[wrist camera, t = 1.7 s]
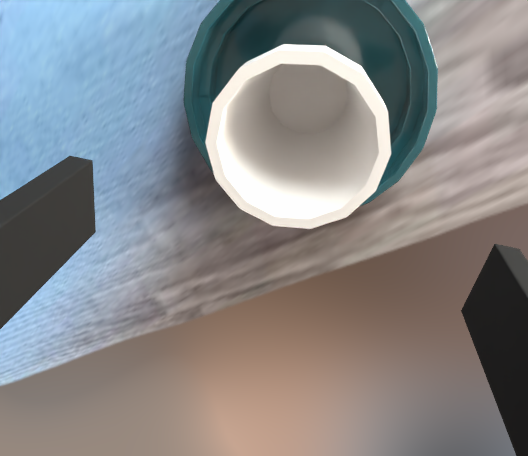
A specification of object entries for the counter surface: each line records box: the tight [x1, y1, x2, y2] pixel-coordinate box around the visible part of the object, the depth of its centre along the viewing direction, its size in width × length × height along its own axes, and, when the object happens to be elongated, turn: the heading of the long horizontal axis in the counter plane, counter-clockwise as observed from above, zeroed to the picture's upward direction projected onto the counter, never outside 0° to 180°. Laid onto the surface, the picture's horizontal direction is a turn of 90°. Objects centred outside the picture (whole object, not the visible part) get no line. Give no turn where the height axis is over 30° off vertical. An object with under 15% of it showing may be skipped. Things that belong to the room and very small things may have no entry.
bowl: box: [184, 0, 438, 206], centre depth 32 cm, size 17×17×4 cm
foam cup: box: [205, 44, 391, 229], centre depth 28 cm, size 10×9×13 cm
